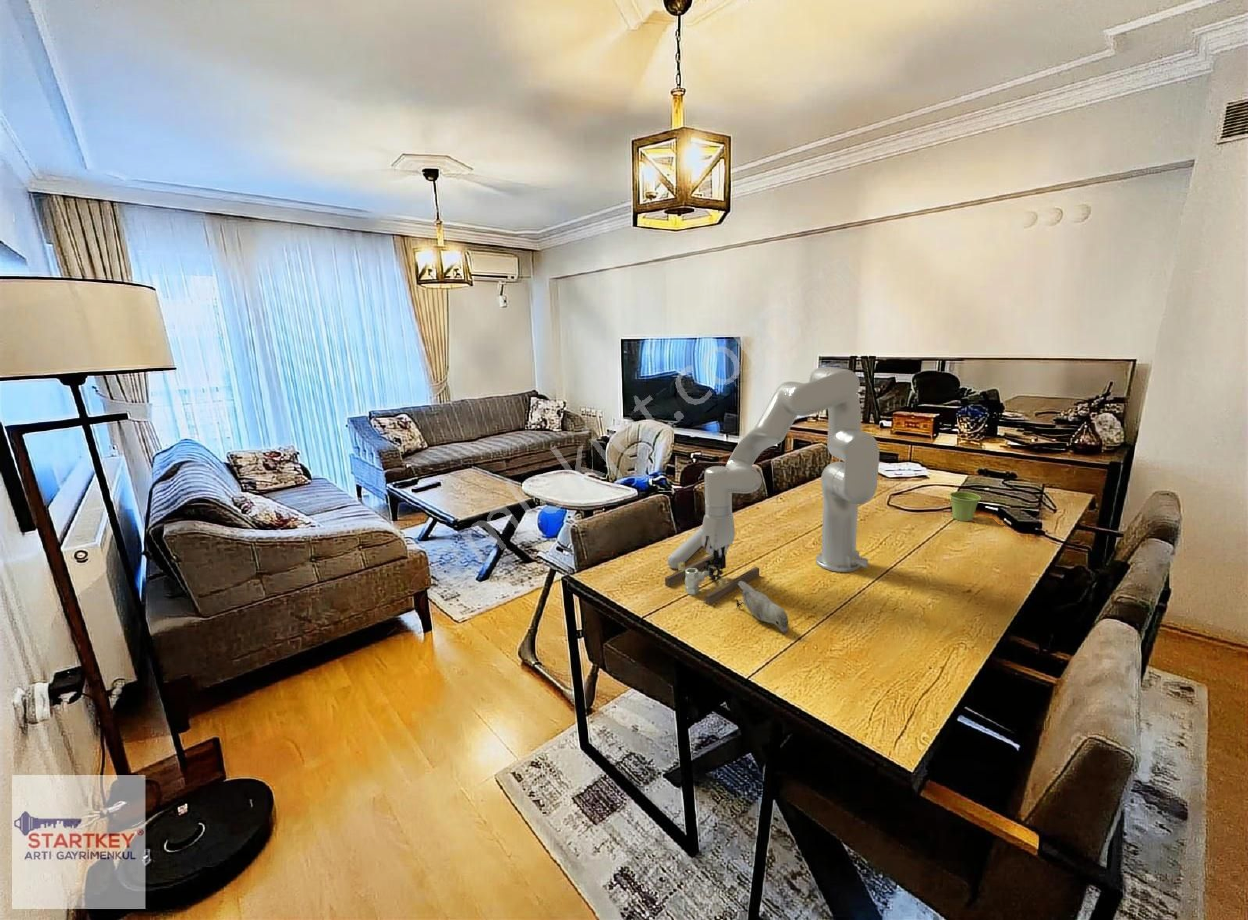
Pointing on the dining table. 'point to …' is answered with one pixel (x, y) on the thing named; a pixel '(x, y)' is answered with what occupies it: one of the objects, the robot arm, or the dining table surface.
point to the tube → (686, 549)
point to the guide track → (723, 586)
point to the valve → (700, 576)
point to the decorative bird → (763, 607)
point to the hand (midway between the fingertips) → (719, 567)
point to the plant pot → (964, 505)
